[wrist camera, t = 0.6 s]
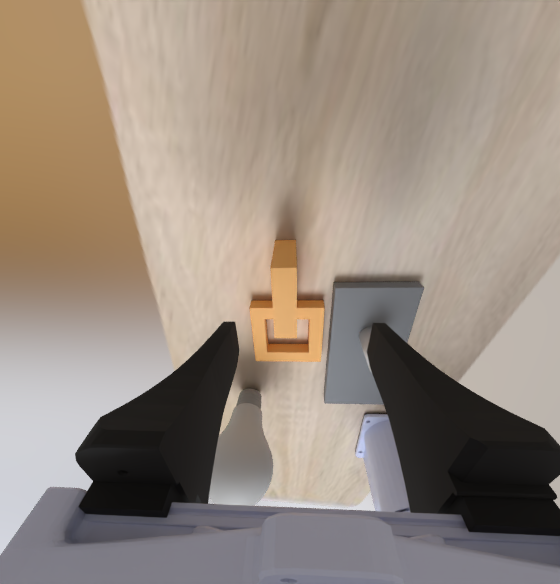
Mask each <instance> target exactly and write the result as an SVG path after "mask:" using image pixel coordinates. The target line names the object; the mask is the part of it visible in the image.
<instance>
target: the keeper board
mask: <svg viewBox="0 0 560 584" xmlns="http://www.w3.org/2000/svg"><path fill="white" fill-rule="evenodd" d="M423 290H424V287H423V286H422V285H421V284H420V283H419V282H334V285H333V296H332V308H331V319H330V330H329V341H328V353H327V364H326V375H325V387H324V402H325V403H333V404H384V403H383V401H382V398H381V396H380V393H379V390H378V388H377V385H376V382H375V380H374V377H373V374H372V372H371V368H370V364H369V360H368V355H367V348H368V344H369V339H370V334H371V329H372V325H373V323H386V324H387V325H388V326H389V327H390V328H391V329H392V330H393V331H394V332H395V333H397V334H398V335H399V336H400V337H401V338H402V339H403V340H404V341H405V342H406V343H407V342H408V338H409V335H410V332H411V329H412V325H413V322H414V319H415V316H416V312H417V309H418V306H419V303H420V299H421V296H422V293H423Z"/></svg>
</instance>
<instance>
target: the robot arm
mask: <svg viewBox="0 0 560 584" xmlns="http://www.w3.org/2000/svg"><path fill="white" fill-rule="evenodd" d="M367 355H368V360H369V364H370V368H371V372H372V374H373V377H374V380H375V382H376V385H377V388H378V390H379V393H380V396H381V398H382V401H383V403H384V406H385V409H386V412H387V414H366V415H364V418H363V422H362V426H361V431H360V435H359V439H358V444H357V448H356V452H355V454H356V457H359V458H363V459H364V463H365V468H366V472H367V476H368V481H369V485H370V490H371V494H372V499H373V503H374V507H375V510H376V511H362V510H339V509H316V508H315V509H314V508H293V507H270V506H247V505H224V504H208V498H209V492H210V485H211V478H212V472H213V466H214V460H215V454H216V448H217V443H218V437H219V432H220V427H221V421H222V416H223V412H224V408H225V405H226V401H227V398H228V395H229V391H230V388H231V385H232V381H233V378H234V374H235V371H236V367H237V362H238V356H239V345H238V338H237V331H236V325H235V322H223V323H222V324H221V325H220V326H219V328H218V329H217V330H216V331H215V332H214V333H213V334H212V336H211V337H210V338H209V339H208V340H207V341H206V342H205V343H204V344H203V345H202V346H201V347H200V348H199V349H198V351H196V352H195V353H194V354H193V355H192V356H191V357H190V358H189V359H188V360H187V361H186V362H185V363H184V364H183V365H182V366H180V367H179V368H178V369H177V370H176V371H174V372H173V373H172V374H171V375H169V376H168V377H167V378H165V379H164V380H162V381H161V382H160V383H158V384H157V385H155V386H154V387H152V388H151V389H149V390H148V391H146V392H145V393H143V394H142V395H140V396H138V397H137V398H135V399H133V400H132V401H130V402H128V403H126V404H125V405H123V406H121V407H119V408H117V409H115V410H113V411H112V412H110V413H108V414H106V415H104V416H102V417H100V419H99V420H98V421H97V423H96V424H95V425H94V427H93V428H92V430H91V431H90V432H89V434H88V435H87V437H86V438H85V440H84V441H83V443H82V444H81V446H80V447H79V448H78V450H77V452H76V453H75V456H76V461H77V463H78V464H79V466H80V467H81V468H82V469H83V470H84V471H85V473H86V474H87V475H88V476H89V477H90V478H91V479H92V480H93V483H92V484H91V486H90V488H89V489H88V491H86V490H83V489H80V488H64V487H50V488H48V489H47V490H46V492H45V493H44V494H43V496H42V497H41V498H40V500H39V501H38V503H37V504H36V506H35V507H34V508H33V510H32V511H31V513H30V514H29V515H28V517H27V518H26V520H25V521H24V523H23V524H22V525H21V527H20V528H19V530H18V531H17V532H16V534H15V535H14V537H13V538H12V540H11V541H10V542H9V544H8V546H7V547H6V548H5V550H4V551H3V553H2V554H1V555H0V584H560V509H559V508H558V506H557V505H556V503H555V502H554V501H553V500H555V499H556V498H557V495H556V494H555V492H554V491H553V490H552V488H551V487H550V486H549V483H551V482H552V481H553V480H554V479H555V478H557V477H558V476H559V475H560V445H559V444H558V443H557V442H556V441H555V440H554V439H553V437H552V436H551V435H550V434H549V433H548V432H547V431H546V430H545V429H544V428H542V427H540V426H538V425H536V424H534V423H532V422H529V421H527V420H525V419H523V418H521V417H519V416H517V415H514V414H513V413H510V412H509V411H507V410H505V409H503V408H501V407H499V406H497V405H495V404H493V403H491V402H490V401H488V400H486V399H484V398H483V397H481V396H479V395H477V394H476V393H474V392H472V391H471V390H469V389H467V388H466V387H464V386H463V385H461V384H459V383H458V382H456V381H455V380H453V379H452V378H450V377H449V376H448V375H446V374H445V373H443V372H442V371H440V370H439V369H438V368H436V367H435V366H434V365H432V364H431V363H430V362H429V361H427V360H426V359H425V358H424V357H422V356H421V355H420V354H419V353H418V352H416V351H415V350H414V349H413V348H412V347H411V346H410V345H408V344H407V343H406V342H405V341H404V340H403V339H402V338H401V337H400V336H399V335H398V334H397V333H395V332H394V331H393V330H392V329H391V328H390V327H389V326H388V325H387V324H386V323H373V325H372V329H371V334H370V339H369V344H368V348H367Z"/></svg>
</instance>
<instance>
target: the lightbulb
mask: <svg viewBox="0 0 560 584" xmlns="http://www.w3.org/2000/svg"><path fill="white" fill-rule="evenodd" d="M272 474H273V459H272V454H271V451H270V448H269V445H268V443H267V440H266V438H265V436H264V432H263V428H262V411H261V394H260V393H259V392H258V391H257V390H255V389H252V388H250V389H245V390H243V391H241V392H240V395H239V398H238V402H237V405H236V407H235V408H234V410H233V413H232V416H231V419H230V421H229V423H228V425H227V427H226V428H225V430H224V431H223V432H222V433H221V434H220V435H219V437H218V443H217V448H216V454H215V460H214V466H213V472H212V478H211V485H210V492H209V498H210V499H211V500H212V501H213V503H214V504H224V505H247V506H254V505H255V504H257V503H258V502H259V501H260V500H261V498H262V497H263V496H264V494H265V493H266V491H267V489H268V487H269V485H270V482H271V479H272Z"/></svg>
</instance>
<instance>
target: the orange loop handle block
mask: <svg viewBox="0 0 560 584" xmlns="http://www.w3.org/2000/svg"><path fill="white" fill-rule="evenodd" d="M271 285H272V300H256V301H251V304H250V316H251V325H252V333H253V342H254V350H255V358H256V361H301V362H321V351H322V337H323V323H324V309H325V308H324V302H323V300H297V257H296V240H275V245H274V251H273V257H272V262H271ZM266 319H274V336H275V338H297V319H309V330H308V344H268V335H267V323H266Z"/></svg>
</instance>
